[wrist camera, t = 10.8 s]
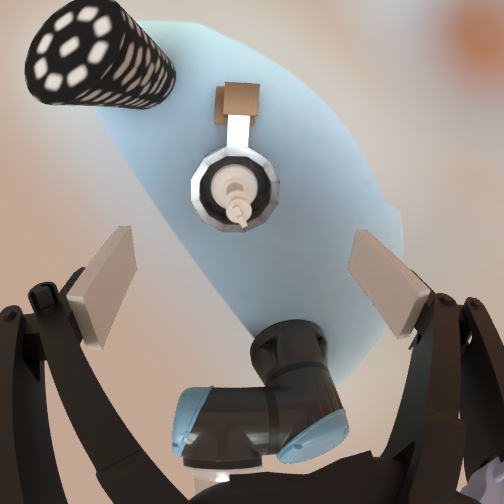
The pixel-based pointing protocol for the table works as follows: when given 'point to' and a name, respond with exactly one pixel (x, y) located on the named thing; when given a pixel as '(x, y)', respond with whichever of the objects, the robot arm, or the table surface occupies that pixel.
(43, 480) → the robot arm
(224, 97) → the walnut post
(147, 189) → the table surface
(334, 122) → the table surface
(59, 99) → the white-spotted black cylinder
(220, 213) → the cup bracket
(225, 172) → the chess piece
